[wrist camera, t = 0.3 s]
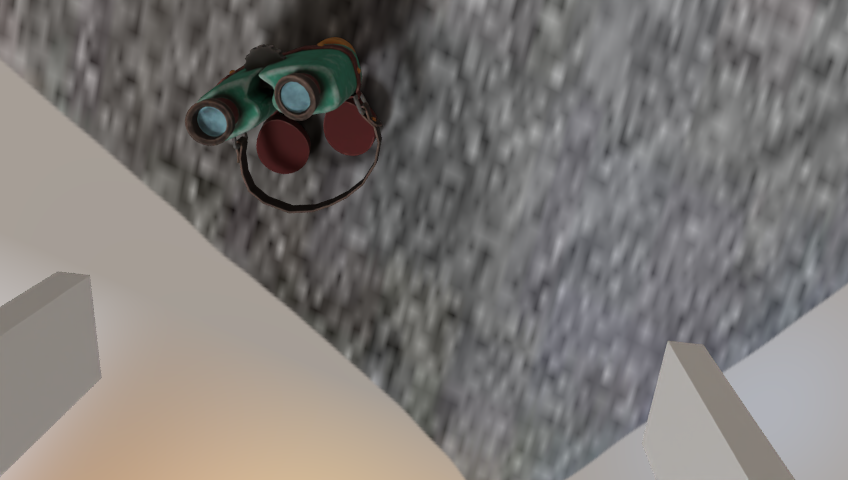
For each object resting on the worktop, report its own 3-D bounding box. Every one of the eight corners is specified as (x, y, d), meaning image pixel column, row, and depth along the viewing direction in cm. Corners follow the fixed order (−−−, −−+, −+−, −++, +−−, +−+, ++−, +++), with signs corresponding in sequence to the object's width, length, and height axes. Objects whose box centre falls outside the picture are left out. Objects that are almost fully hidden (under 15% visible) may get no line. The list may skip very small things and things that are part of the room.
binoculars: (229, 272, 33) (141, 88, 29) (281, 197, 42) (221, 51, 38) (391, 233, 31) (322, 32, 27) (407, 164, 41) (358, 8, 37)
